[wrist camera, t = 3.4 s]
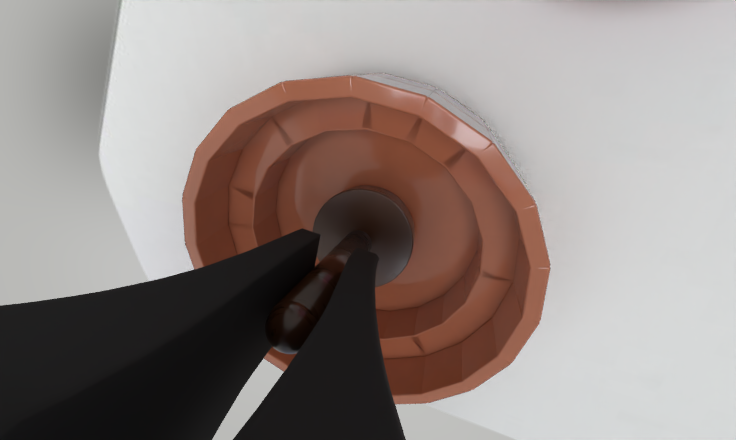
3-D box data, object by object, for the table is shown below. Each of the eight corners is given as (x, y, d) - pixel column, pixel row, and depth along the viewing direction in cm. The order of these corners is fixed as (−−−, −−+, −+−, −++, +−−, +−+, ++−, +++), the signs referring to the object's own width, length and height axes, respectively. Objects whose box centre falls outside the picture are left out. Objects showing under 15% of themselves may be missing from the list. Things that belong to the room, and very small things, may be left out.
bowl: (456, 359, 19) (455, 445, 15) (246, 280, 21) (189, 336, 17) (585, 126, 12) (654, 159, 8) (259, 37, 14) (170, 24, 10)
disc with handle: (398, 288, 16) (354, 466, 7) (313, 258, 16) (171, 386, 7) (427, 202, 15) (422, 281, 6) (336, 173, 15) (199, 202, 6)
